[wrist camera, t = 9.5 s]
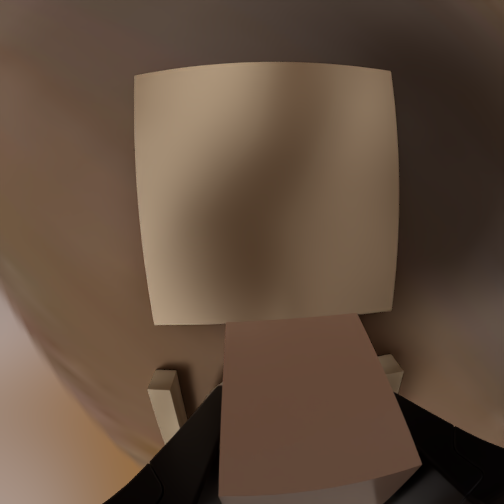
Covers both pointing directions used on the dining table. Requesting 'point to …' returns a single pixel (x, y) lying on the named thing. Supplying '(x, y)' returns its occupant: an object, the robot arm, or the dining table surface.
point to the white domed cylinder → (309, 416)
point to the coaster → (267, 191)
